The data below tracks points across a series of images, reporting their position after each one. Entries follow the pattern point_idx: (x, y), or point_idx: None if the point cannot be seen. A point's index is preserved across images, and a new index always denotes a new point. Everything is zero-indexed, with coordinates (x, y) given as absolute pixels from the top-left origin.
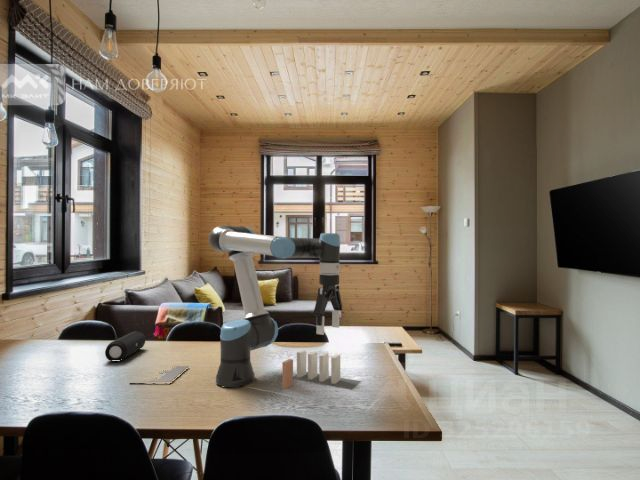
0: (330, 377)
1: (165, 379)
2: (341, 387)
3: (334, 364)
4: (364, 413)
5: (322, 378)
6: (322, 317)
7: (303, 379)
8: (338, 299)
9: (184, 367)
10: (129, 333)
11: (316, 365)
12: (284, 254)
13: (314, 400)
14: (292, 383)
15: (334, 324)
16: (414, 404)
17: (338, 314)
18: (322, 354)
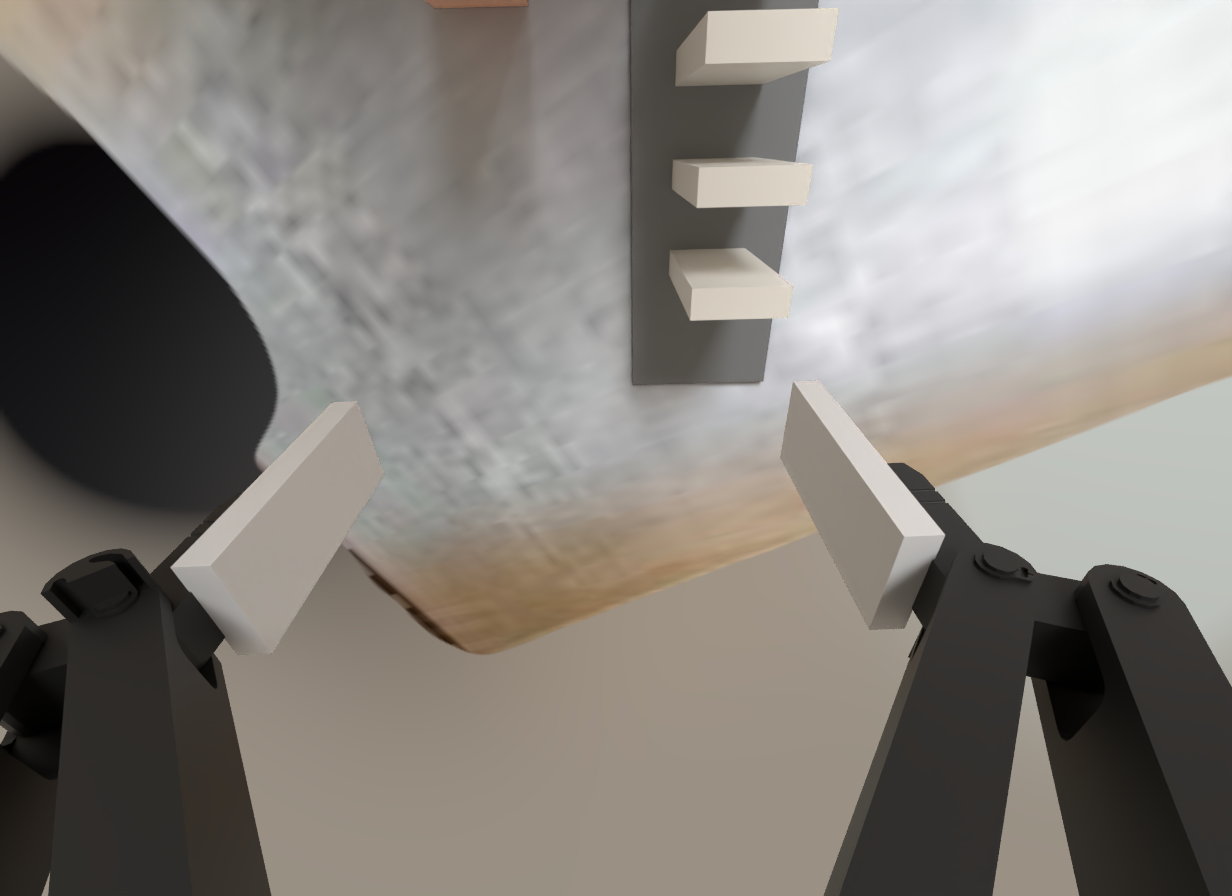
0: None
1: None
2: (635, 330)
3: (683, 303)
4: (450, 503)
5: (673, 186)
6: (236, 631)
7: (655, 18)
8: (1093, 876)
9: None
10: None
11: (773, 75)
12: None
13: (422, 282)
14: (518, 2)
15: (800, 429)
16: (615, 594)
17: (845, 578)
18: (744, 174)
